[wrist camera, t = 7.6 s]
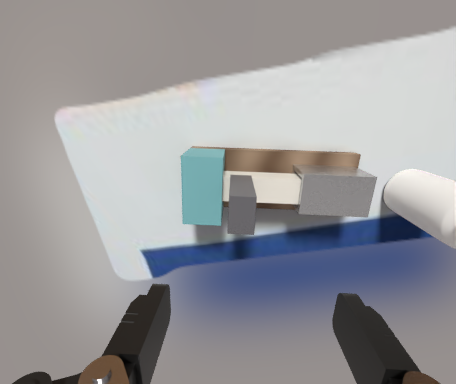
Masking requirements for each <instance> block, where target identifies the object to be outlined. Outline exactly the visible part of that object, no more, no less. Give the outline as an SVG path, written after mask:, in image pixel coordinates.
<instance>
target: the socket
mask: <svg viewBox="0 0 456 384" xmlns="http://www.w3.org/2000/svg"><path fill="white" fill-rule="evenodd" d="M224 169H225V149H203V148H190V149H189V150H188V151H186V152H185V153H184V154H183V155H182V156H181V176H182V215H183V224H195V225H218V226H221V222H222V214H223V202H224V201H222V188H223V171H224Z"/></svg>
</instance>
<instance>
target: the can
mask: <svg viewBox="0 0 456 384" xmlns="http://www.w3.org/2000/svg"><path fill="white" fill-rule="evenodd" d="M383 197H384V201H385V204H386V205H387V206H388V207H389V208H390V209H391V210H392V211H394V212H396V213H397V214H399V215H400V216H402V217H403V218H405V219H406V220H408V221H410V222H411V223H413V224H414V225H416V226H417V227H419V228H421V229H422V230H424V231H425V232H427V233H429V234H430V235H432V236H433V237H435V238H437V239H438V240H440V241H442V242H443V243H445V244H447V245H448V246H450V247H452V248H454V249H456V181H454V180H451V179H447V178H444V177H441V176H438V175H435V174H432V173H428V172H425V171H422V170H418V169H407V170H403V171H401V172H399V173H397V174H396V175H394V176H393V177H392V178H391V179H390V180H389V181H388V183H387V184H386V186H385V189H384V194H383Z"/></svg>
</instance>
